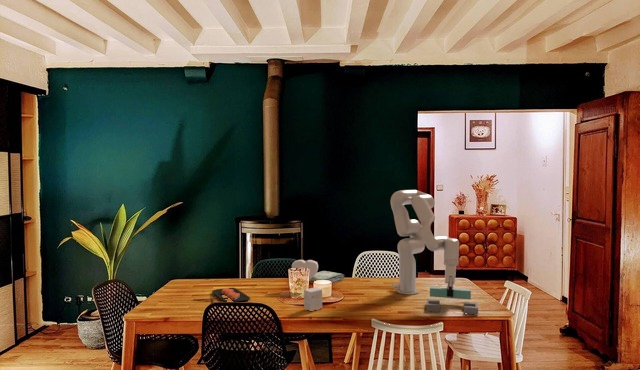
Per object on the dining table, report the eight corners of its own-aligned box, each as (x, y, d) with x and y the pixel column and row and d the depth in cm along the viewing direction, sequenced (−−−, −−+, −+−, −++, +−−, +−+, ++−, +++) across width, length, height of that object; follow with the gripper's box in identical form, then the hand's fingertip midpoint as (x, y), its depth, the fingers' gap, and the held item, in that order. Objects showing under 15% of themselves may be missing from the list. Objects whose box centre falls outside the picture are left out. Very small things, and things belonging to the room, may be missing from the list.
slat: (429, 296, 247) (429, 288, 246) (429, 294, 249) (430, 286, 249) (470, 299, 241) (470, 291, 241) (470, 297, 244) (470, 289, 244)
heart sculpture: (291, 290, 274) (291, 261, 273) (293, 288, 279) (293, 259, 278) (317, 291, 272) (316, 261, 271) (318, 289, 276) (318, 259, 276)
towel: (301, 281, 299) (301, 273, 298) (326, 276, 312) (326, 268, 312) (319, 286, 284) (319, 278, 284) (344, 281, 298) (344, 273, 298)
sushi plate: (252, 301, 254) (252, 295, 253) (198, 311, 238) (198, 303, 238) (233, 290, 278) (233, 283, 278) (184, 297, 263) (183, 291, 263)
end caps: (426, 311, 233) (426, 304, 233) (426, 306, 242) (426, 299, 242) (478, 315, 226) (478, 308, 226) (476, 309, 235) (476, 302, 235)
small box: (316, 306, 242) (315, 287, 242) (322, 309, 238) (322, 289, 237) (303, 309, 237) (303, 289, 237) (310, 312, 233) (310, 292, 232)
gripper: (443, 257, 253) (442, 290, 254) (443, 264, 237) (442, 299, 238) (457, 258, 251) (456, 291, 252) (458, 265, 235) (457, 300, 236)
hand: (450, 295), depth 245 cm, fingers closed on slat, 3 cm apart
